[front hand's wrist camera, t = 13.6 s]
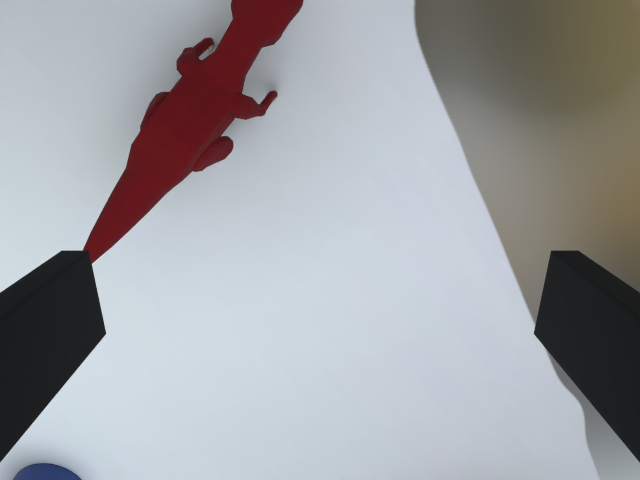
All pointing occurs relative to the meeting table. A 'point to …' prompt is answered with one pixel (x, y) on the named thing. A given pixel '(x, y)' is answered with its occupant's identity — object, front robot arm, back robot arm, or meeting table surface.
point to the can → (45, 473)
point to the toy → (192, 117)
